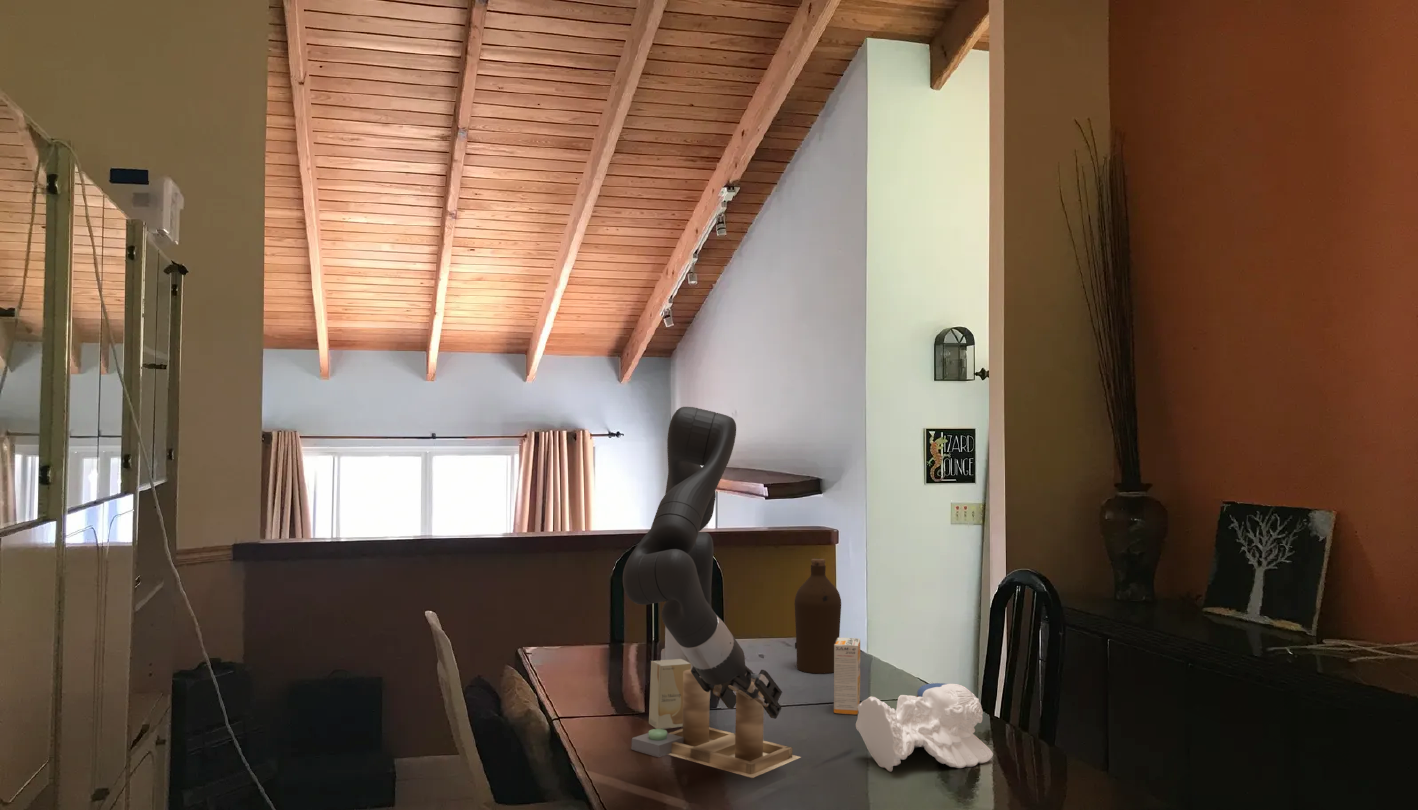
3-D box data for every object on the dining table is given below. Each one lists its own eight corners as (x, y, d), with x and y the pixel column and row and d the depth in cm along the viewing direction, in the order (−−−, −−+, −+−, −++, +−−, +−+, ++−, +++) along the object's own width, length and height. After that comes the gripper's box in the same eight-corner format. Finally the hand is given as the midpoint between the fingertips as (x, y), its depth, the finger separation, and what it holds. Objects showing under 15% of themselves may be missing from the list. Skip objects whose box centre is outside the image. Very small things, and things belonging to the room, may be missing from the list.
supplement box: (858, 715, 186) (859, 645, 187) (833, 713, 187) (833, 644, 188) (860, 704, 194) (861, 637, 195) (836, 702, 195) (836, 636, 196)
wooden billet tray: (644, 755, 160) (644, 738, 161) (695, 737, 170) (695, 721, 171) (752, 785, 147) (752, 767, 147) (801, 764, 157) (801, 747, 157)
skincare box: (657, 736, 171) (659, 665, 171) (647, 730, 175) (648, 660, 175) (691, 732, 174) (692, 662, 174) (680, 725, 178) (681, 657, 178)
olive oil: (850, 669, 224) (851, 559, 225) (820, 676, 217) (820, 563, 218) (814, 662, 232) (815, 555, 233) (784, 668, 225) (785, 558, 226)
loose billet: (729, 759, 155) (730, 682, 155) (746, 753, 158) (747, 678, 158) (751, 766, 152) (753, 688, 152) (768, 759, 155) (769, 682, 156)
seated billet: (676, 745, 162) (677, 672, 162) (694, 739, 165) (695, 667, 166) (697, 751, 159) (698, 676, 159) (714, 745, 162) (715, 671, 163)
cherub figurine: (847, 689, 163) (946, 668, 171) (854, 765, 163) (953, 739, 171) (890, 707, 151) (995, 682, 159) (899, 788, 151) (1003, 760, 159)
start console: (631, 756, 160) (631, 731, 160) (656, 748, 164) (656, 724, 164) (658, 764, 156) (659, 739, 156) (683, 755, 160) (683, 731, 161)
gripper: (759, 632, 146) (801, 696, 154) (686, 621, 155) (729, 681, 163) (736, 675, 141) (781, 738, 150) (663, 660, 150) (709, 720, 159)
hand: (754, 708), depth 156 cm, fingers open, 8 cm apart
